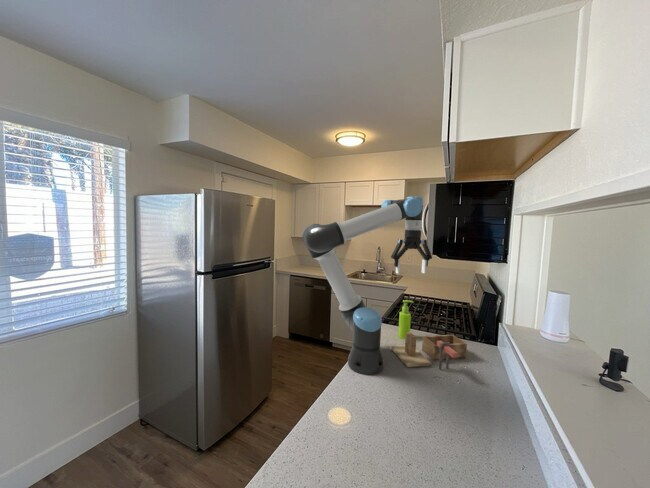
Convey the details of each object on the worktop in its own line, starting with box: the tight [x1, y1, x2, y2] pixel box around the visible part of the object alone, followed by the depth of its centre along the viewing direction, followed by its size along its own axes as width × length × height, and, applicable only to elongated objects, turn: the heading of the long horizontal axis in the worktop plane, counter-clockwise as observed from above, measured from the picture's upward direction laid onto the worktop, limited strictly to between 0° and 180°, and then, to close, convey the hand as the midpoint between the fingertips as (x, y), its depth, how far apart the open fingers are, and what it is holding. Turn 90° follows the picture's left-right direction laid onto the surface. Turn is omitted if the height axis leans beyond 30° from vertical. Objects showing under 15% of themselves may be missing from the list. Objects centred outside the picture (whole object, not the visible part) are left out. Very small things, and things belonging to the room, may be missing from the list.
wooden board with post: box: [391, 331, 432, 368], centre depth 124 cm, size 17×11×11 cm, turn 10°
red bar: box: [437, 341, 458, 358], centre depth 114 cm, size 2×11×2 cm, turn 10°
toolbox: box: [421, 334, 468, 371], centre depth 124 cm, size 18×17×12 cm
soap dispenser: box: [397, 299, 415, 340], centre depth 145 cm, size 6×7×20 cm
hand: (410, 273), depth 132 cm, fingers open, 13 cm apart
